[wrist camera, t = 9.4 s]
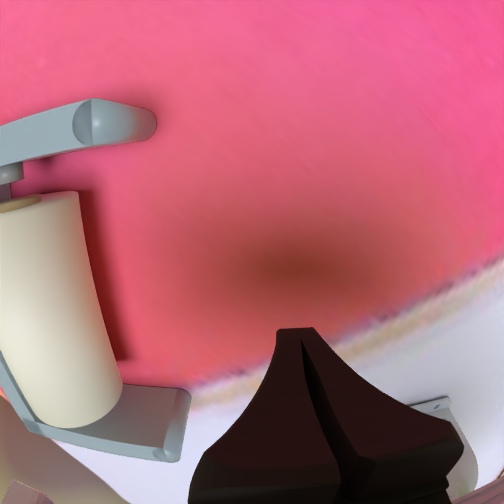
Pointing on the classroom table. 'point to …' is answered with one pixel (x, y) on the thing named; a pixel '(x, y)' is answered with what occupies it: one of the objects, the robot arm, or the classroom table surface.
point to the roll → (53, 312)
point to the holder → (132, 397)
